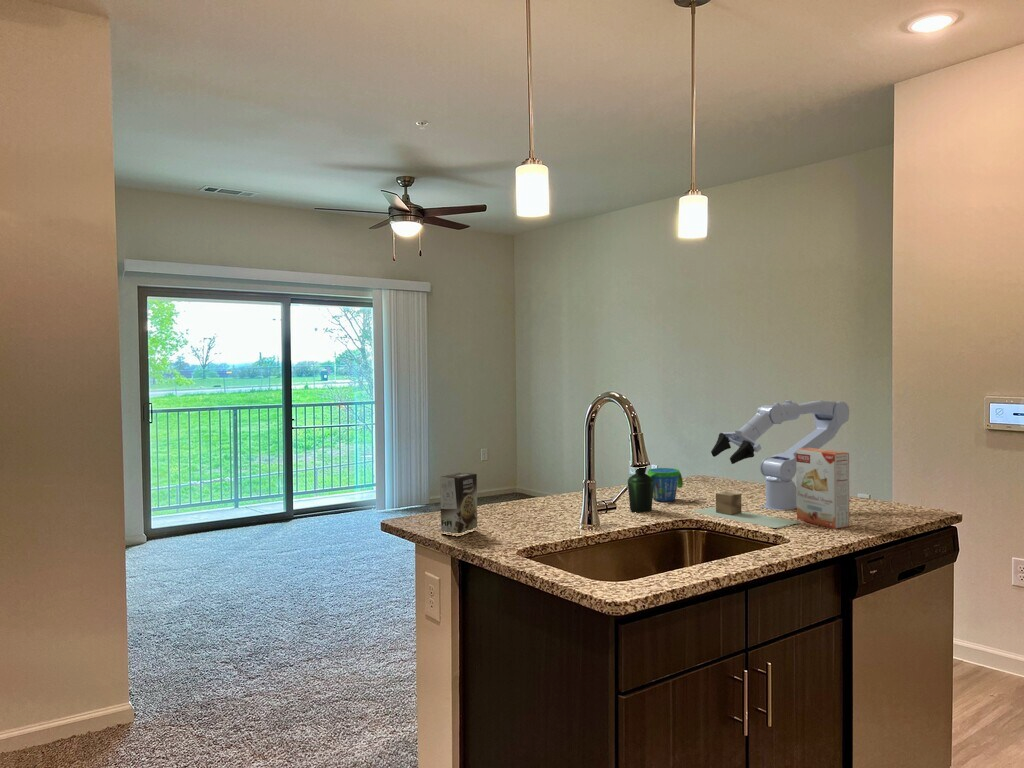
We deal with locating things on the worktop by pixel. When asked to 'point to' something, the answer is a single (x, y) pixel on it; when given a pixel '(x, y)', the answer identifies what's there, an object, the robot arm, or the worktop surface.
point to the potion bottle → (640, 491)
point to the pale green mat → (750, 518)
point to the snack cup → (665, 483)
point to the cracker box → (823, 487)
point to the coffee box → (458, 502)
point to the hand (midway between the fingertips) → (721, 457)
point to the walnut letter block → (728, 503)
